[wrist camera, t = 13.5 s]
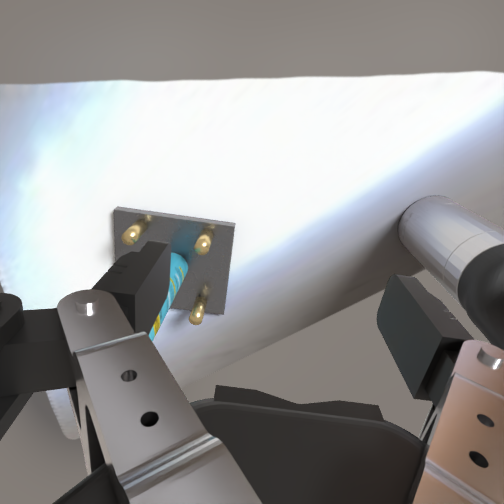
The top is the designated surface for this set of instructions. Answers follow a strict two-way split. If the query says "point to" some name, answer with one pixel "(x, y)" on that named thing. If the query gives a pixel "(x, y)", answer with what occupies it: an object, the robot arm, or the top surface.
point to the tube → (171, 288)
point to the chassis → (184, 253)
